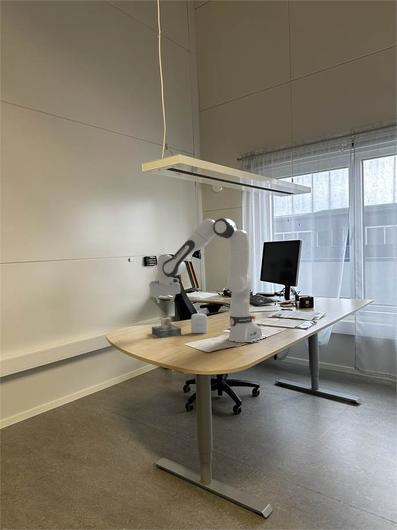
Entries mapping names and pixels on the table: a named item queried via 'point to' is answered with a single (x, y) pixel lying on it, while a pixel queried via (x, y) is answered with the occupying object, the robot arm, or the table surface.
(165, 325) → the ash block
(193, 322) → the photo printer
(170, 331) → the riser block
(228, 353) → the table surface
